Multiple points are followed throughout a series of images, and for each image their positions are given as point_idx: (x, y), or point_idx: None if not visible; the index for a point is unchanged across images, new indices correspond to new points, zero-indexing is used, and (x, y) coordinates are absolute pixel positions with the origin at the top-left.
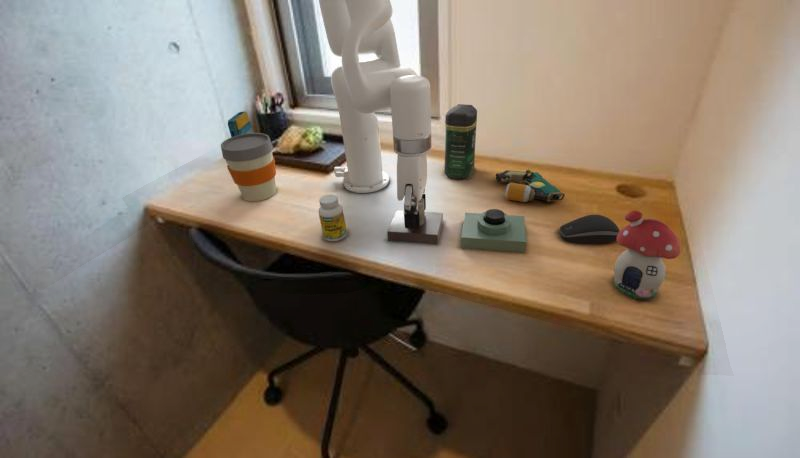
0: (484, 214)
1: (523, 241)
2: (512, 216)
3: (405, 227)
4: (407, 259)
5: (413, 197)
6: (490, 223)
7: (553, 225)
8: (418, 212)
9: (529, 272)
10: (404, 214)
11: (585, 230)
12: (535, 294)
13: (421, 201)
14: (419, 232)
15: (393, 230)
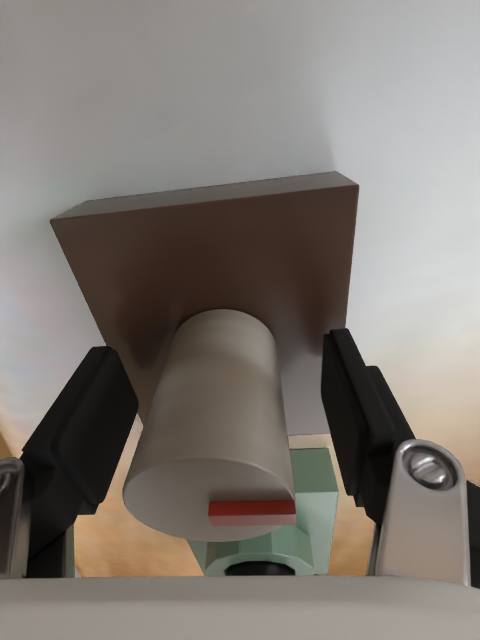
0: (284, 561)
1: (204, 573)
2: (321, 562)
3: (93, 349)
4: (14, 334)
5: (257, 493)
6: (230, 571)
7: (330, 562)
8: (84, 512)
9: (143, 541)
10: (36, 432)
11: None
12: (83, 546)
13: (203, 536)
14: (134, 386)
15: (80, 259)
